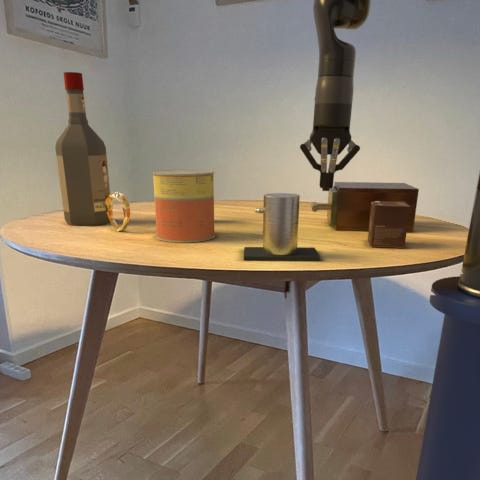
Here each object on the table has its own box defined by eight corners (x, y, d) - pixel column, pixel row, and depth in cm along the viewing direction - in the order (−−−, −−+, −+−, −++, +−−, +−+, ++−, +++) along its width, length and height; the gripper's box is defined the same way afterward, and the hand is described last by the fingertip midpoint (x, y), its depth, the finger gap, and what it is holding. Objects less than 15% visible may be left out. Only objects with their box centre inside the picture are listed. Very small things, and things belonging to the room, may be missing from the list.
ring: (135, 232, 94) (132, 191, 91) (120, 234, 92) (117, 192, 89) (118, 227, 99) (115, 188, 96) (104, 229, 97) (100, 189, 94)
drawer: (311, 225, 98) (313, 191, 96) (309, 215, 110) (311, 185, 107) (401, 227, 96) (405, 193, 94) (390, 217, 108) (394, 187, 105)
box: (405, 248, 81) (410, 205, 79) (369, 247, 82) (373, 204, 80) (400, 241, 87) (405, 201, 84) (367, 240, 88) (371, 200, 85)
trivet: (314, 250, 80) (314, 247, 79) (320, 260, 73) (320, 257, 73) (244, 250, 80) (244, 246, 80) (243, 260, 73) (243, 256, 73)
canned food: (226, 236, 91) (226, 171, 87) (183, 245, 83) (180, 175, 79) (188, 229, 98) (185, 169, 94) (144, 236, 90) (139, 171, 86)
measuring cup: (252, 254, 74) (253, 196, 71) (255, 247, 79) (256, 192, 76) (296, 256, 73) (299, 197, 70) (296, 248, 79) (299, 193, 75)
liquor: (62, 225, 101) (41, 70, 90) (75, 218, 110) (58, 75, 99) (104, 225, 101) (88, 70, 90) (114, 219, 110) (101, 76, 99)
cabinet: (335, 230, 97) (339, 187, 94) (331, 219, 110) (334, 181, 107) (413, 232, 96) (419, 188, 93) (399, 221, 108) (404, 182, 105)
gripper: (300, 100, 92) (295, 191, 98) (369, 101, 91) (359, 193, 97) (300, 103, 99) (295, 187, 105) (364, 104, 98) (354, 189, 104)
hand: (325, 190), depth 101 cm, fingers closed
